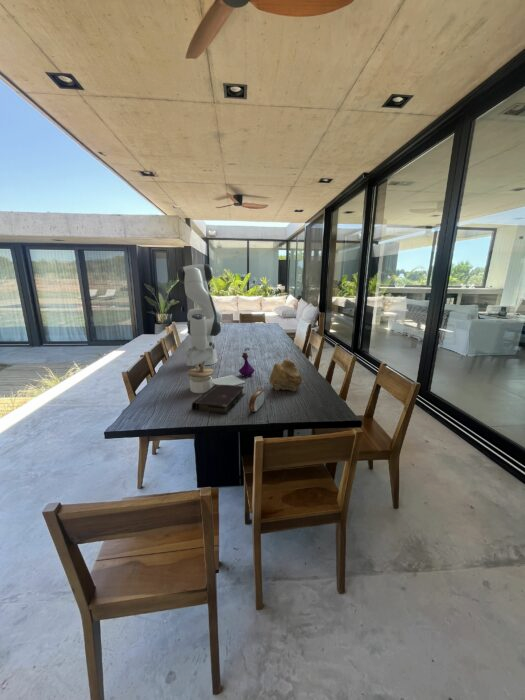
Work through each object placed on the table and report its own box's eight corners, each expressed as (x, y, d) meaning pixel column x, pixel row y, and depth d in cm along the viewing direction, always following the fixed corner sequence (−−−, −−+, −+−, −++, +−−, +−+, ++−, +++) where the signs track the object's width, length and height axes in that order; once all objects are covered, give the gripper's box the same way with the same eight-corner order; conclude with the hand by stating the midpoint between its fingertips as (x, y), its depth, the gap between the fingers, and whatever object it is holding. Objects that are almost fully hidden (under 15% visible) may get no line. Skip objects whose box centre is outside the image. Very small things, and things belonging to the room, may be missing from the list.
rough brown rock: (293, 399, 154) (296, 372, 150) (264, 391, 161) (267, 365, 157) (307, 386, 174) (310, 362, 170) (281, 379, 181) (284, 356, 177)
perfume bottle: (247, 378, 182) (247, 350, 178) (238, 375, 186) (238, 348, 182) (255, 375, 188) (255, 347, 183) (246, 372, 192) (245, 345, 188)
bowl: (187, 387, 166) (186, 377, 165) (206, 383, 173) (206, 373, 172) (196, 394, 157) (195, 384, 155) (216, 389, 164) (216, 379, 162)
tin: (260, 401, 149) (260, 385, 147) (266, 402, 148) (266, 386, 146) (248, 414, 136) (248, 397, 134) (254, 415, 135) (254, 398, 132)
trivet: (208, 380, 177) (208, 380, 177) (231, 375, 186) (231, 374, 186) (222, 389, 165) (222, 388, 165) (245, 383, 174) (245, 382, 174)
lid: (189, 369, 169) (189, 361, 167) (214, 369, 170) (214, 360, 169) (185, 377, 155) (185, 368, 154) (212, 377, 156) (212, 368, 155)
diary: (191, 411, 139) (190, 401, 138) (214, 391, 163) (214, 383, 161) (228, 416, 134) (227, 406, 133) (246, 395, 158) (246, 386, 156)
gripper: (192, 349, 148) (193, 375, 151) (214, 341, 166) (215, 365, 170) (182, 348, 151) (183, 374, 154) (205, 340, 169) (206, 364, 172)
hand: (200, 369), depth 162 cm, fingers closed on lid, 3 cm apart
